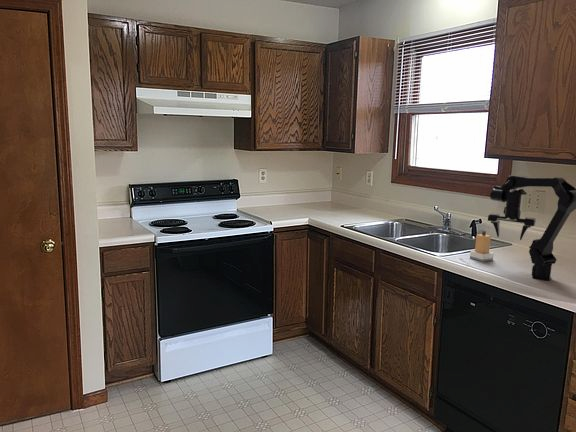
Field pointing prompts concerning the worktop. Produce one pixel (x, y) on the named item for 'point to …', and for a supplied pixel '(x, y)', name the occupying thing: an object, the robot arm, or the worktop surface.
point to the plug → (482, 243)
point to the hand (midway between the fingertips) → (509, 238)
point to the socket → (481, 256)
